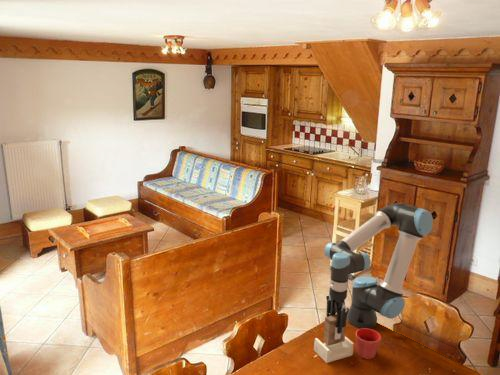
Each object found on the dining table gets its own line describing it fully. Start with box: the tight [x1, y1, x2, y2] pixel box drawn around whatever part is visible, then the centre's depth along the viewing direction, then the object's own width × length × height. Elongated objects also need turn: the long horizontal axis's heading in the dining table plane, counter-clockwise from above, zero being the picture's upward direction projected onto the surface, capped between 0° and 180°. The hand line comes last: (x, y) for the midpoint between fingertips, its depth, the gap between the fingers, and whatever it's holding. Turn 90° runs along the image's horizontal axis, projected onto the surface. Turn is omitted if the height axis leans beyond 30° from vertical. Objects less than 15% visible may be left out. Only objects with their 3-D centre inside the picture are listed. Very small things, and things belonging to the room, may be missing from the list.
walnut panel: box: [322, 315, 347, 346], centre depth 193 cm, size 9×4×12 cm, turn 115°
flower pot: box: [355, 328, 382, 360], centre depth 195 cm, size 11×11×10 cm
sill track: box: [313, 335, 355, 364], centre depth 195 cm, size 14×10×6 cm
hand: (334, 336), depth 194 cm, fingers closed on walnut panel, 3 cm apart
